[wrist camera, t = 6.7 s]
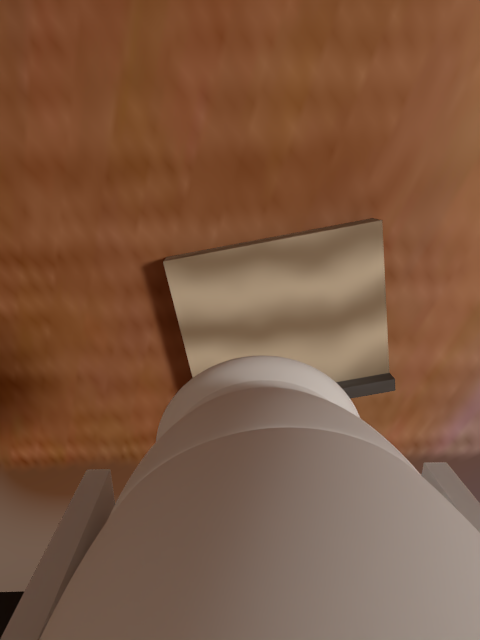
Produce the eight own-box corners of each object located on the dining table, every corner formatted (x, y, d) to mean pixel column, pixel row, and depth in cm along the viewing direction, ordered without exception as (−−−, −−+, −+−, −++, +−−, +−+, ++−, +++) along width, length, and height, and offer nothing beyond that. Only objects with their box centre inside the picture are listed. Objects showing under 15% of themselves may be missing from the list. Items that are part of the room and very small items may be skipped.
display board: (166, 257, 32) (160, 264, 29) (372, 218, 31) (388, 221, 28) (204, 407, 37) (202, 426, 34) (381, 375, 37) (395, 392, 34)
